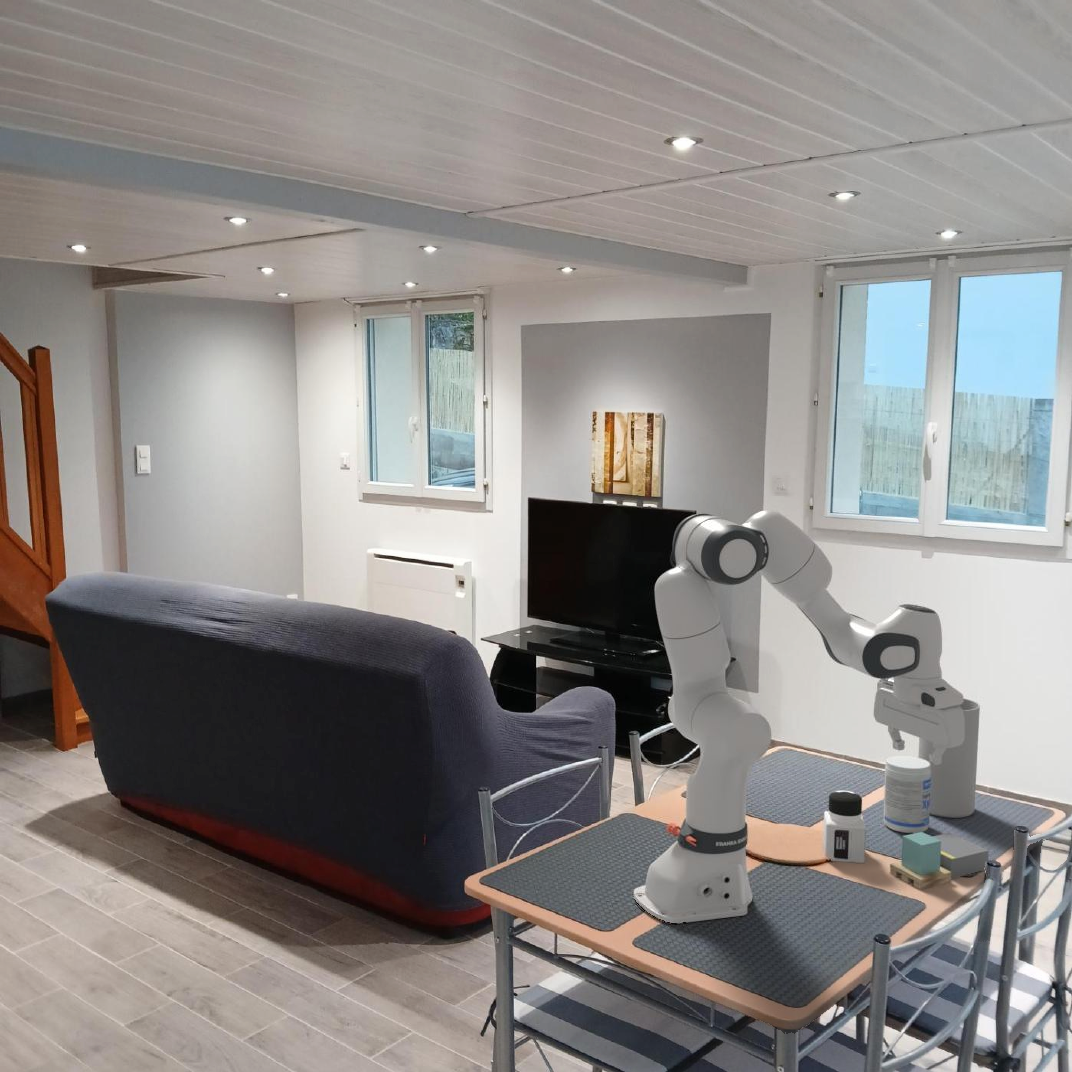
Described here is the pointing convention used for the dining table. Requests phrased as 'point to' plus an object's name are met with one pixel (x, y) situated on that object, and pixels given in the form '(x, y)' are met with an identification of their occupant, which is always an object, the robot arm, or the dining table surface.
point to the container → (844, 828)
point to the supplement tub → (907, 794)
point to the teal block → (921, 853)
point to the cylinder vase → (955, 770)
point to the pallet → (920, 876)
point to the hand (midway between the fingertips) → (916, 756)
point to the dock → (961, 855)
